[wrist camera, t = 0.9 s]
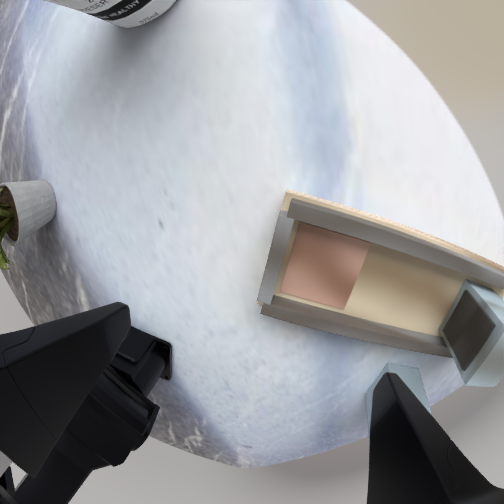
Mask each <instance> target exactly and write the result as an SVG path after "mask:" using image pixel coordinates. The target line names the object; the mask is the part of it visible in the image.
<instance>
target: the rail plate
mask: <svg viewBox="0 0 504 504" xmlns="http://www.w3.org/2000/svg"><path fill="white" fill-rule="evenodd" d="M503 295H504V267H503V266H501V265H499V264H497V263H495V262H492V261H490V260H488V259H486V258H484V257H481V256H479V255H477V254H475V253H472V252H470V251H468V250H465V249H463V248H461V247H458V246H456V245H454V244H451V243H449V242H446V241H444V240H441V239H439V238H436V237H434V236H431V235H429V234H426V233H423V232H421V231H418V230H415V229H413V228H410V227H407V226H404V225H402V224H399V223H396V222H393V221H390V220H387V219H385V218H382V217H379V216H376V215H373V214H370V213H367V212H363V211H360V210H357V209H354V208H351V207H348V206H344V205H341V204H338V203H335V202H331V201H328V200H324V199H321V198H318V197H314V196H310V195H307V194H303V193H300V192H296V191H292V190H287V191H286V194H285V198H284V202H283V206H282V210H281V212H280V214H279V216H278V220H277V224H276V228H275V232H274V236H273V240H272V244H271V248H270V252H269V256H268V260H267V264H266V267H265V271H264V275H263V279H262V283H261V287H260V291H259V294H258V298H257V301H258V303H257V304H259V305H262V310H261V313H260V314H263V315H267V316H270V317H273V318H277V319H280V320H284V321H288V322H291V323H295V324H299V325H302V326H306V327H310V328H314V329H318V330H321V331H325V332H329V333H333V334H337V335H342V336H346V337H350V338H354V339H359V340H363V341H367V342H372V343H376V344H381V345H386V346H391V347H395V348H400V349H405V350H411V351H416V352H421V353H427V354H432V355H438V356H444V357H450V358H453V359H454V361H455V363H456V365H457V368H458V370H459V372H460V374H461V377H462V379H463V381H464V384H465V385H468V386H490V387H492V386H493V387H495V386H496V385H497V383H498V382H499V381H500V380H501V378H502V377H503V376H504V301H503V300H502V297H503Z"/></svg>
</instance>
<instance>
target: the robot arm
mask: <svg viewBox="0 0 504 504" xmlns="http://www.w3.org/2000/svg"><path fill="white" fill-rule="evenodd" d="M171 361H172V346H171V344H170V343H169V342H166V341H164V340H162V339H159V338H157V337H154V336H152V335H150V334H147V333H145V332H143V331H141V330H138V329H136V328H134V327H132V326H131V319H130V310H129V306H128V305H126V304H124V303H121V302H116V303H112V304H109V305H106V306H102V307H99V308H95V309H92V310H89V311H85V312H82V313H78V314H75V315H72V316H68V317H65V318H61V319H58V320H55V321H51V322H48V323H44V324H41V325H37V326H36V327H35V326H34V327H30V328H27V329H23V330H19V331H15V332H10V333H6V334H1V335H0V504H68V502H69V501H70V500H71V499H72V497H73V496H74V495H75V493H76V492H77V490H78V489H79V488H80V486H81V485H82V484H83V482H84V481H85V480H86V478H87V477H88V476H89V474H90V473H91V472H92V471H93V470H95V469H99V468H102V467H106V466H109V465H112V466H113V467H114V466H117V465H120V464H122V463H123V462H124V461H125V460H126V458H127V456H128V455H129V453H130V451H134V450H136V449H138V448H139V447H140V446H141V445H142V444H143V443H144V442H145V440H146V439H147V437H148V436H149V434H150V432H151V429H152V427H153V424H154V422H155V419H156V416H157V414H158V411H159V409H160V407H159V406H158V405H157V404H154V403H153V402H152V401H150V400H149V399H148V398H147V396H148V394H149V393H150V391H151V390H152V388H153V387H154V385H155V384H156V382H157V381H158V379H159V378H160V377H161V378H163V379H165V380H170V379H171ZM12 461H13V462H14V463H15V464H16V465H17V466H19V467H20V468H21V469H22V470H24V471H25V472H26V473H27V474H26V475H25V476H24V478H23V479H22V480H21V482H20V483H19V484H18V486H17V487H16V488H14V484H13V478H12V472H11V467H10V466H9V465H10V464H11V463H12ZM367 504H504V489H502V488H498V487H496V486H493V485H492V484H491V483H489V481H488V480H487V479H486V478H485V477H484V476H483V475H482V474H481V473H480V472H479V471H478V470H477V469H476V468H475V467H474V466H473V465H472V464H471V462H470V461H469V460H468V459H467V458H466V457H465V456H464V455H463V453H462V452H461V451H460V450H459V449H458V447H457V446H456V445H455V444H454V442H453V441H452V440H450V437H449V436H448V435H447V434H446V432H445V431H444V430H443V429H442V427H441V426H440V425H439V424H438V422H437V421H436V420H435V419H434V418H433V416H432V415H431V414H430V413H429V411H428V410H427V409H426V408H425V407H424V405H423V404H422V403H421V402H420V401H419V399H418V398H417V397H416V396H415V395H414V393H413V392H412V391H411V390H410V389H409V387H408V386H407V385H406V384H405V383H404V382H403V380H402V379H401V378H400V377H399V376H398V375H397V374H396V373H391V372H386V373H384V374H383V376H382V377H381V379H380V380H379V382H378V383H377V385H376V386H375V388H374V390H373V397H372V410H371V421H370V452H369V480H368V496H367Z"/></svg>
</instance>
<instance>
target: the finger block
mask: <svg viewBox="0 0 504 504" xmlns="http://www.w3.org/2000/svg"><path fill="white" fill-rule="evenodd" d="M386 372H391V373H396V374H397V375H398V376H399V377H400V378H401V379H402V380H403V382H404V383H405V384H406V385H407V386H408V387H409V389H410V390H411V391H412V392H413V393H414V395H415V396H416V397H417V398H418V399H419V401H420V402H421V403H422V404H423V405H424V407H425V408H426V409H427V410H428V411H429V413H430V414H431V410H430V407H429V403H428V399H427V396H426V392H425V389H424V386H423V382H422V379H421V376H420V373H419V370H418V368H414V367H408V366H402V365H396V364H390V363H387V364H386V366H385V367H384V369H383V370H382V372H381V373H380V375H379V376H378V377H377V379H376V380H375V381H374V383H373V384H372V386H371V387H370V388H369V390H368V391H367V392H366V394H365V395H366V406H367V418H368V433H369V446H370V421H371V410H372V397H373V390H374V388H375V386H376V385H377V383H378V382H379V380H380V379H381V377H382V376H383V374H384V373H386ZM431 415H432V414H431Z"/></svg>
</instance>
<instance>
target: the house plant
mask: <svg viewBox="0 0 504 504" xmlns="http://www.w3.org/2000/svg"><path fill="white" fill-rule="evenodd" d="M55 212H56V197H55V193H54V190H53V188H52V186H51V185H50V183H49V182H48V181H46V180H37V181H21V182H8V183H1V184H0V242H1V241H2V238H3V237H4V239H5V240H6V242H7V243H8V244H10V245H12V246H15V245H17V244H18V243H20V242H21V241H22V240H24V239H25V238H26V237H28V236H29V235H31V234H32V233H33V232H35V231H36V230H38V229H39V228H41V227H42V226H44V225H45V224H47V223H48V222H49V221H51V220H52V219H53V218H54V216H55ZM0 250H1V252H0V268H1V269H9V268H7V265H6V263H8V264H10V265H12V264H11V263H10V262H9V260H8V259H7V257H6V255H5V253H4V251H3V249H2V246H1V244H0ZM5 262H6V263H5Z"/></svg>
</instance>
